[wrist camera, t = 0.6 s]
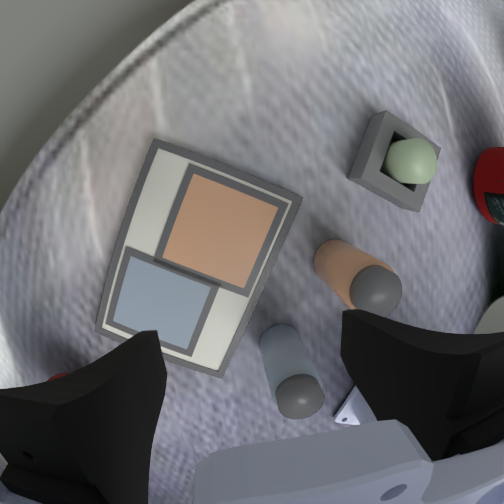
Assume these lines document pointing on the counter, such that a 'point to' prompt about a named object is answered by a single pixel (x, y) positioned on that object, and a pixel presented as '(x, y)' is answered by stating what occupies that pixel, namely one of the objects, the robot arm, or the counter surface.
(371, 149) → the button housing
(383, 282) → the terracotta marker
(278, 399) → the cylinder
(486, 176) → the beverage can
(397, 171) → the button
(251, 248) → the picture card
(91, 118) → the counter surface
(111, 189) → the counter surface
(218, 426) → the counter surface
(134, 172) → the counter surface
